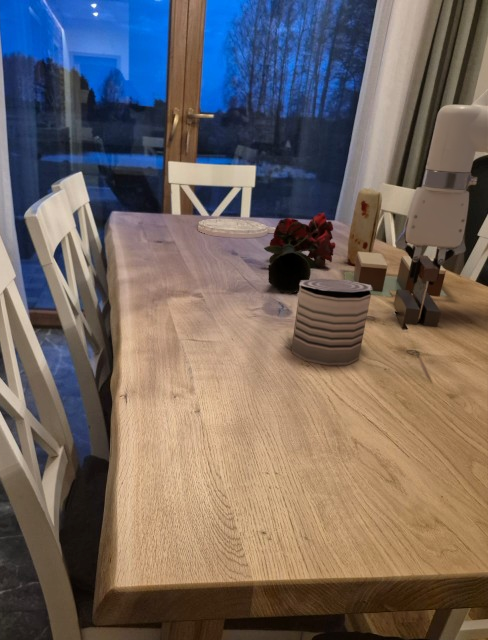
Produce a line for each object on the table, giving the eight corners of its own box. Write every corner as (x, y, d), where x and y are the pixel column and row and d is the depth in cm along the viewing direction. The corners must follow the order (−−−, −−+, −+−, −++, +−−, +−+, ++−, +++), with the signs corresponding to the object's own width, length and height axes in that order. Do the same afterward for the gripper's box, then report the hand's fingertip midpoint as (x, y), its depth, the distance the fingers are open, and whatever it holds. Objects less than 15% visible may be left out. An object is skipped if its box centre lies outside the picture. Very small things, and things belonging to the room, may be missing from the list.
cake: (428, 282, 139) (434, 258, 137) (439, 297, 128) (446, 270, 125) (396, 279, 141) (401, 255, 138) (404, 293, 129) (410, 267, 126)
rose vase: (288, 326, 131) (287, 280, 161) (361, 280, 124) (345, 240, 154) (248, 271, 126) (254, 234, 156) (321, 220, 119) (313, 191, 149)
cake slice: (376, 278, 141) (381, 253, 139) (382, 291, 130) (387, 265, 127) (353, 275, 142) (357, 251, 140) (357, 289, 131) (361, 262, 128)
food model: (342, 261, 161) (355, 185, 152) (366, 263, 160) (380, 187, 151) (345, 269, 152) (359, 189, 143) (371, 271, 151) (387, 191, 142)
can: (290, 362, 91) (300, 288, 86) (289, 338, 101) (298, 270, 96) (364, 369, 90) (378, 294, 84) (355, 344, 100) (367, 275, 95)
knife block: (392, 307, 122) (396, 289, 120) (423, 310, 121) (427, 292, 119) (402, 328, 109) (406, 308, 107) (436, 332, 108) (441, 311, 106)
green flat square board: (434, 283, 143) (434, 280, 142) (451, 306, 125) (452, 302, 125) (343, 275, 146) (344, 271, 146) (348, 295, 128) (348, 292, 128)
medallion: (191, 224, 203) (192, 217, 202) (264, 226, 208) (265, 219, 207) (205, 237, 182) (206, 230, 181) (286, 238, 187) (287, 231, 186)
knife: (402, 309, 120) (414, 254, 115) (414, 310, 120) (427, 255, 115) (411, 327, 110) (425, 267, 105) (424, 328, 109) (439, 269, 104)
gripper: (486, 183, 106) (460, 281, 114) (396, 176, 108) (376, 274, 116) (498, 187, 99) (469, 291, 107) (401, 180, 101) (380, 283, 109)
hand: (421, 281), depth 111 cm, fingers closed on knife, 2 cm apart
